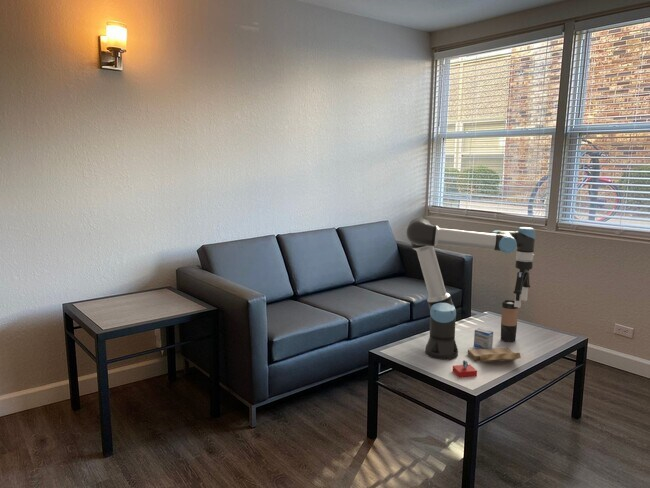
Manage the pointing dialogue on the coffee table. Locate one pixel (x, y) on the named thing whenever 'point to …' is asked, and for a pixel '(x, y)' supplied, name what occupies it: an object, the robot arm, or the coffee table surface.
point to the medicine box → (483, 339)
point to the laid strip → (487, 352)
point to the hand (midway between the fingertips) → (520, 303)
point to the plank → (500, 357)
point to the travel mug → (509, 321)
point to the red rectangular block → (464, 370)
